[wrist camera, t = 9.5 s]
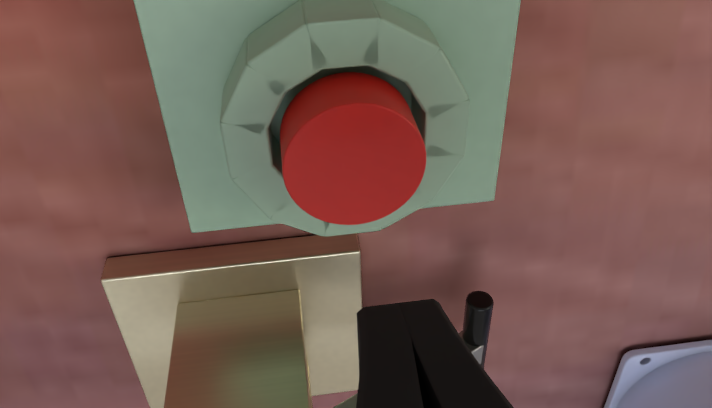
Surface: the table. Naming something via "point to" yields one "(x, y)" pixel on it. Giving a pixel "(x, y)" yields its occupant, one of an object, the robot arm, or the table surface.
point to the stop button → (350, 149)
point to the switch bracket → (241, 321)
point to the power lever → (465, 331)
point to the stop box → (309, 63)
